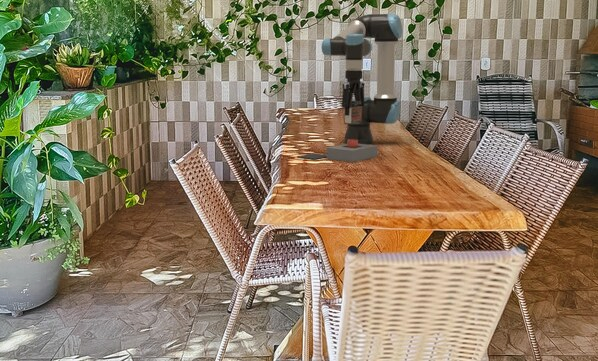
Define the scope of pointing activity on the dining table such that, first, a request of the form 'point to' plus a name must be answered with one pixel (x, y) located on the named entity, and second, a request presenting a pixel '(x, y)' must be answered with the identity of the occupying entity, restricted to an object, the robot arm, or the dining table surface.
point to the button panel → (352, 152)
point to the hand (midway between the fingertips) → (353, 122)
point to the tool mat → (313, 156)
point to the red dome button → (352, 143)
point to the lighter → (355, 113)
